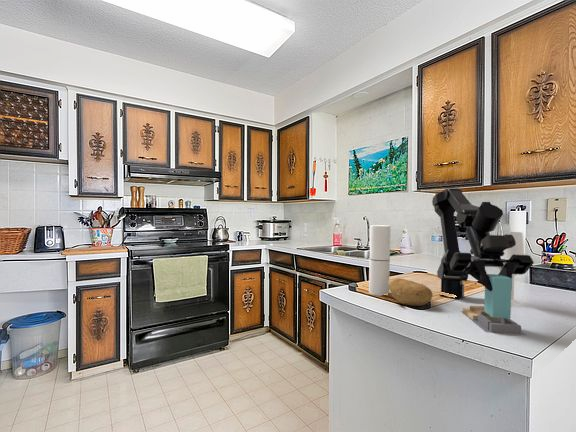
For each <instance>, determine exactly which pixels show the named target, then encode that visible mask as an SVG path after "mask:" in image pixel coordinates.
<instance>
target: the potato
mask: <svg viewBox="0 0 576 432" xmlns="http://www.w3.org/2000/svg"><path fill="white" fill-rule="evenodd" d="M389 292H390V293H391V296H392V297H393V299H395V300H396V301H397V302H398V303H400V304H401V305H407V306H413V307H424V306H425V305H426V304H428V303H429V302H430V301H431V300H432V299H433V296H434V295H433V291H432V290H431V289H430V288H429V287H428V286H426V285H425V284H421V283H419V282H416V281H412V280H407V279H404V278H394V279H392V280H391V281H389Z"/></svg>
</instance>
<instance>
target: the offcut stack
mask: <svg viewBox="0 0 576 432" xmlns="http://www.w3.org/2000/svg"><path fill="white" fill-rule="evenodd" d="M461 308H462V310H461V311H463V312H464V313H465V314H466V315H468V316H469V317H470V318H471V319H473V320H478V314H482V315H483V316H485V317H486V318H488V319H489V320H490V321H498V322H501V318H495V317H492V316H490V315H489V314H487V313H486V312H484V305H469V307H464V306H463V307H461ZM466 315H465V316H466Z"/></svg>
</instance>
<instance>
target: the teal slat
mask: <svg viewBox="0 0 576 432" xmlns="http://www.w3.org/2000/svg"><path fill="white" fill-rule="evenodd" d="M487 275H488V277H489V280H490V282H491V285H492V291H489V290H488V289H487V288H485V287H484V305H483V306H484V312H486V313H487V314H489V315H490V316H492V317H495V318H509V319H511V313H512V312H511V311H512V310H511V309H512V306H511V285H512V279H511V278H509V277H506V276H504V275H498V274H492V273H491V274H490V273H487Z"/></svg>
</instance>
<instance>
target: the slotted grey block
mask: <svg viewBox="0 0 576 432" xmlns="http://www.w3.org/2000/svg"><path fill="white" fill-rule="evenodd" d="M460 312H461V313H462V314H463V315H464V316H466V317H467V318H468V319H469V320H470V321H472V322H473V323H474V324H475V325H476V326H478V327H479V328H481V330H483V331H484V332H485V333H491V334H492V333H494V334H495V333H496V334H507V335H522V336H527V334H526V333H524V332H523V331H522V325H520V324H518V323H517V322H515V321H514V320H512V319H511V318H501V322H498V321H490V320H489V319H488V318H486V317H485V316H483V315H482V314H478V320H473V319H471V318H470V317H469V316H468V315H466V314H465V313H464V312H463V311H462V310H460Z"/></svg>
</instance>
